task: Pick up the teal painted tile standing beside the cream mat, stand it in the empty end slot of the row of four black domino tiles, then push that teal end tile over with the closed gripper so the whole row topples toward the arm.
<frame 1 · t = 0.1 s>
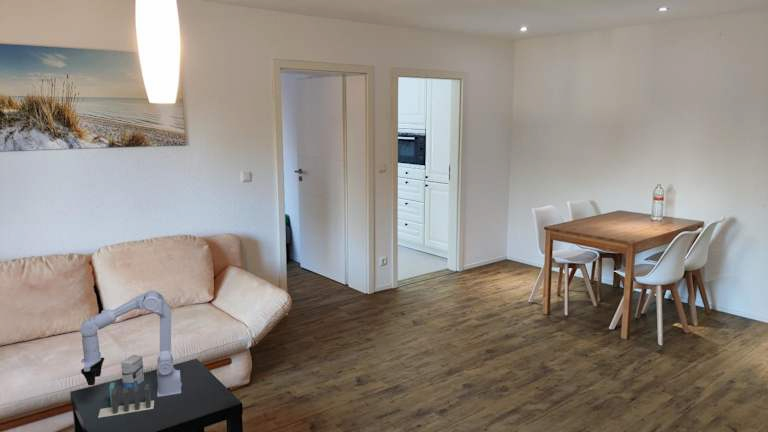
hand: (94, 380, 227), 10 cm above the table, fingers open, 7 cm apart
tile 2: (115, 410, 223), resting on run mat
tile teal: (113, 403, 229), on the table
tile 5: (148, 405, 227), resting on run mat
tile 3: (126, 408, 224), resting on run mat
tile 4: (137, 407, 226), resting on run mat
ink box: (133, 384, 246), on the table
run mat: (127, 409, 224), on the table
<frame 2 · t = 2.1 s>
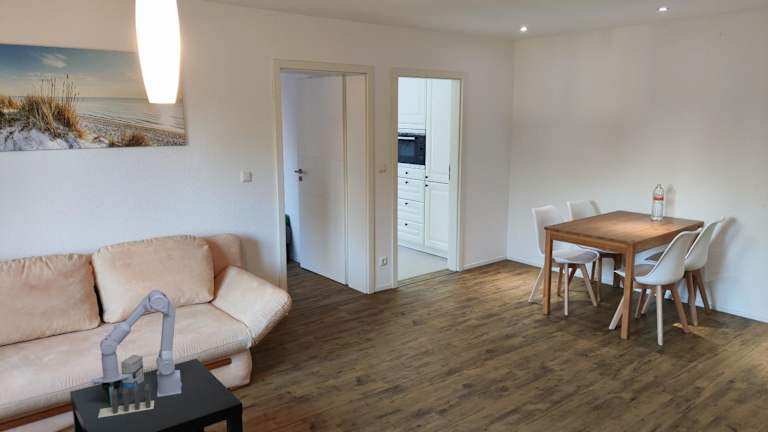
hand: (113, 398, 228), 2 cm above the table, fingers closed on tile teal, 2 cm apart
tile teal: (113, 403, 229), on the table, touching gripper
everything else where it was.
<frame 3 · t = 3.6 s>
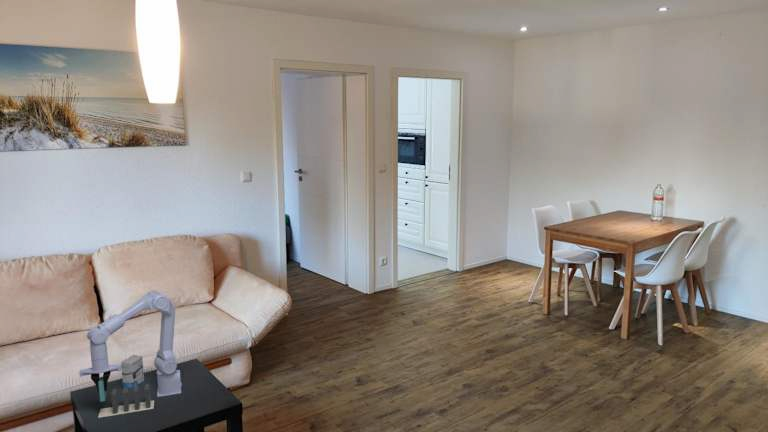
hand: (102, 390, 220), 10 cm above the table, fingers closed on tile teal
tile teal: (103, 398, 220), point 6 cm above the table, touching gripper
everything else where it was.
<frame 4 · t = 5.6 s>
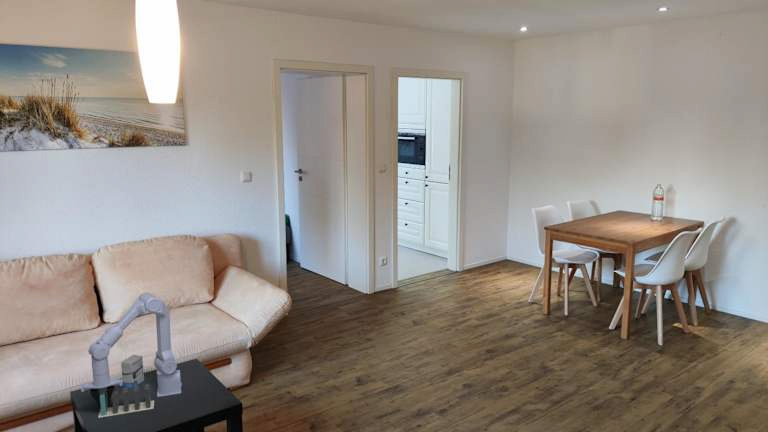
hand: (104, 404, 221), 3 cm above the table, fingers open, 3 cm apart
tile 2: (115, 410, 223), resting on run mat, touching gripper
tile teal: (104, 412, 221), resting on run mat
everything else where it was.
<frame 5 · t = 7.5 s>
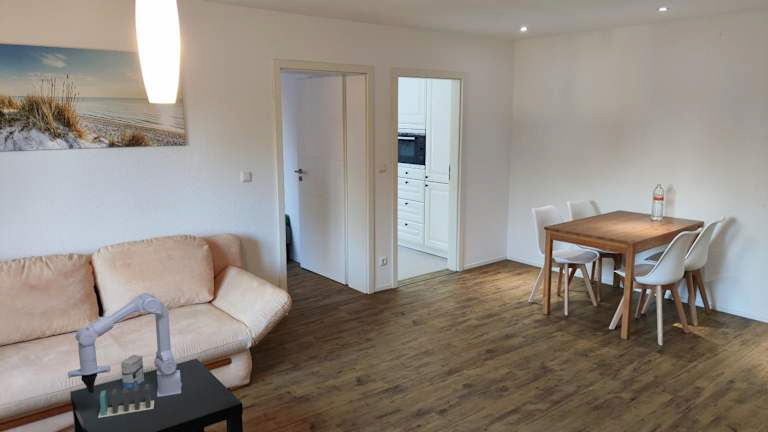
hand: (91, 391, 219), 10 cm above the table, fingers closed
tile 2: (115, 410, 223), resting on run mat
everything else where it was.
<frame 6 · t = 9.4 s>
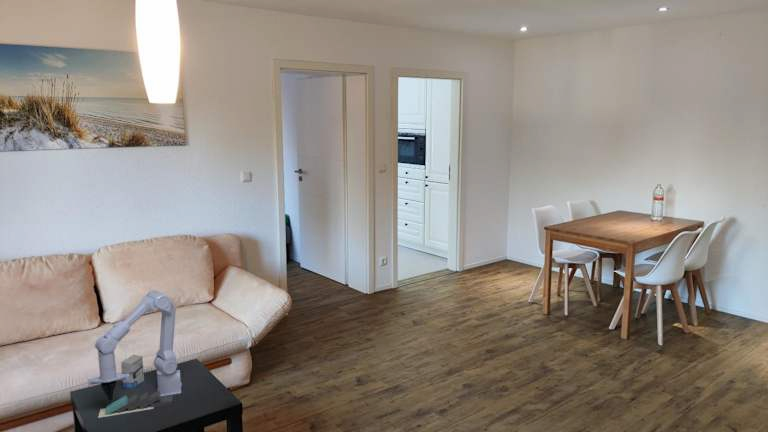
hand: (110, 399, 221), 5 cm above the table, fingers closed
tile 2: (118, 408, 223), point 1 cm above the table, tilted 66°, touching tile 3, tile teal
tile teal: (106, 410, 222), point 1 cm above the table, tilted 66°, touching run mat, tile 2
tile 5: (151, 402, 227), point 1 cm above the table, tilted 92°, touching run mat, tile 4
tile 3: (129, 406, 224), point 1 cm above the table, tilted 67°, touching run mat, tile 2, tile 4
tile 4: (140, 404, 226), point 1 cm above the table, tilted 67°, touching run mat, tile 3, tile 5
everything else where it was.
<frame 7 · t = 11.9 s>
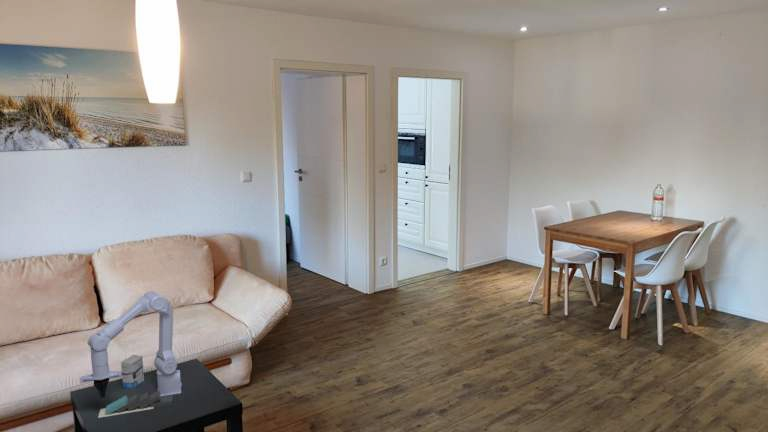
hand: (103, 396, 220), 7 cm above the table, fingers closed
nothing on the table moved.
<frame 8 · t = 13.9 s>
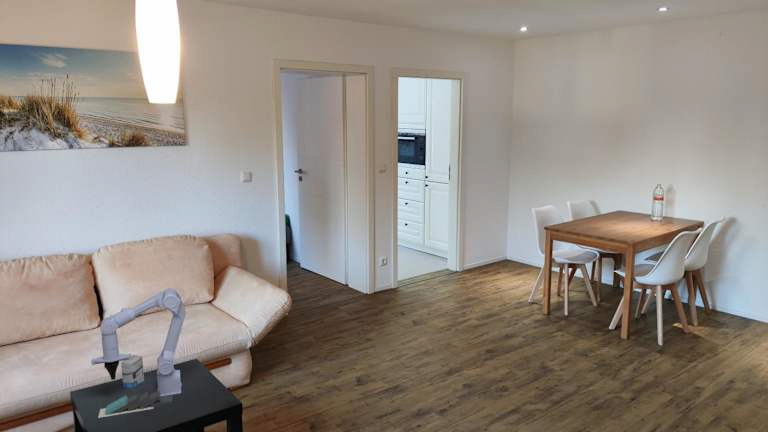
hand: (113, 378, 229), 10 cm above the table, fingers closed
nothing on the table moved.
at the end: tile 5 tilted 92°; tile teal tilted 66°; the gripper is holding nothing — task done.
